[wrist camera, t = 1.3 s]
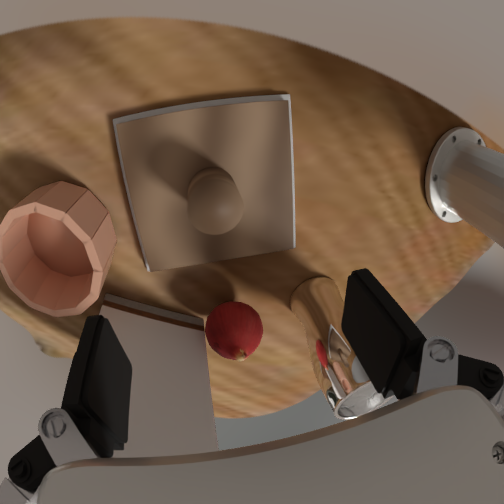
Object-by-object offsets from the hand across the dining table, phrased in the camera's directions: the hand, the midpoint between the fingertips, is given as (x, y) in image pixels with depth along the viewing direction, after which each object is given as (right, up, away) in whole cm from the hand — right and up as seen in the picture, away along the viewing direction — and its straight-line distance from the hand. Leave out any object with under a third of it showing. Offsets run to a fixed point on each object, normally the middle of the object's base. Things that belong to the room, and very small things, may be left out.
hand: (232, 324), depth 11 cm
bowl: (-17, +4, +14) cm, 23 cm away
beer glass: (+8, -3, +24) cm, 25 cm away
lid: (-3, +8, +15) cm, 17 cm away
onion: (-2, -3, +22) cm, 22 cm away
